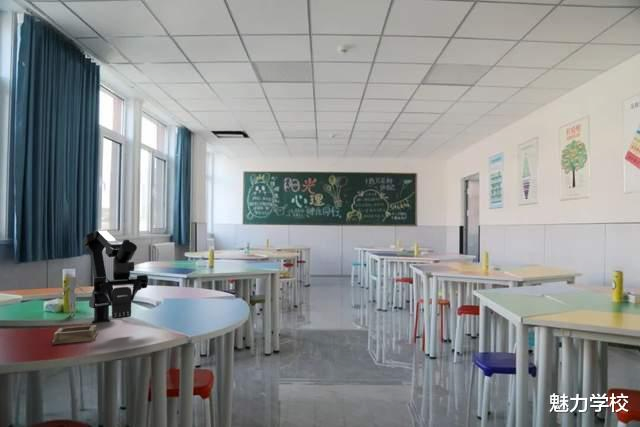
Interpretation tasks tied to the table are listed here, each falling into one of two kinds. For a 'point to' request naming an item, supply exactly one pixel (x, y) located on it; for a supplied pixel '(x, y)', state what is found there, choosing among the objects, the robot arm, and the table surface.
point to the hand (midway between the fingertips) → (121, 300)
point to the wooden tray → (75, 334)
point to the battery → (121, 302)
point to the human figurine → (72, 293)
